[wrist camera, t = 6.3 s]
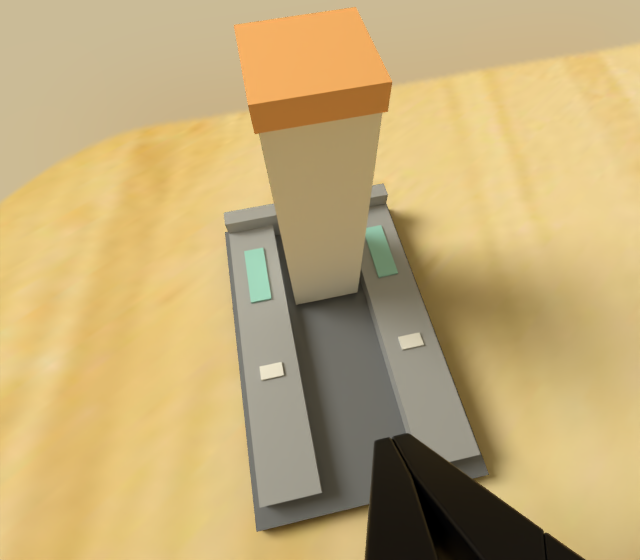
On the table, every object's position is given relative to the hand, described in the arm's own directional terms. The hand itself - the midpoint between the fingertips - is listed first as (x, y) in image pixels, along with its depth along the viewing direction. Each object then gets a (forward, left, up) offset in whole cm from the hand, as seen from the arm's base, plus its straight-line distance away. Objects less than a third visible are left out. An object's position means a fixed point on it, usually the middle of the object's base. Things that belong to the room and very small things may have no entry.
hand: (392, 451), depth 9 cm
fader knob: (+6, -7, -8) cm, 12 cm away
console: (+4, -4, -8) cm, 10 cm away
